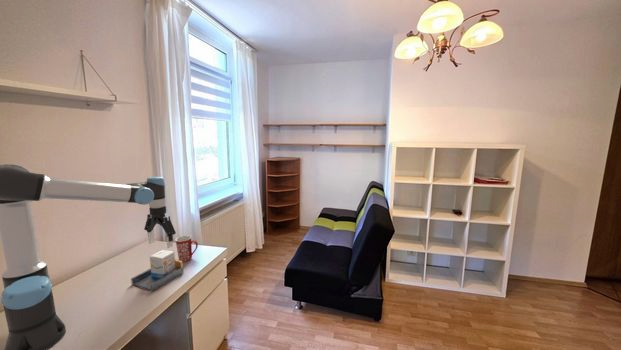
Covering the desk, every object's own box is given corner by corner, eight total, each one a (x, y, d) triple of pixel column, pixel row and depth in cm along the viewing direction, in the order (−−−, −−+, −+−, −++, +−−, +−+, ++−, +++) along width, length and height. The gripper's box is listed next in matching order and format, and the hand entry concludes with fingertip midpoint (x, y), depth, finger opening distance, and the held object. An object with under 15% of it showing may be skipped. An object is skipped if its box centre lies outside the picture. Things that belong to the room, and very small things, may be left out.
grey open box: (152, 291, 123) (151, 278, 121) (131, 284, 128) (130, 272, 127) (183, 272, 139) (182, 261, 138) (163, 267, 145) (162, 256, 143)
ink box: (163, 279, 131) (161, 258, 129) (151, 276, 133) (148, 256, 132) (176, 270, 139) (174, 251, 137) (164, 268, 142) (162, 249, 140)
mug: (173, 262, 151) (171, 241, 148) (181, 255, 159) (180, 235, 157) (194, 262, 150) (193, 241, 148) (201, 255, 159) (200, 235, 157)
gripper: (181, 207, 130) (184, 246, 133) (148, 202, 139) (151, 238, 142) (168, 210, 123) (171, 251, 126) (134, 205, 132) (137, 243, 135)
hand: (160, 245), depth 134 cm, fingers open, 13 cm apart
